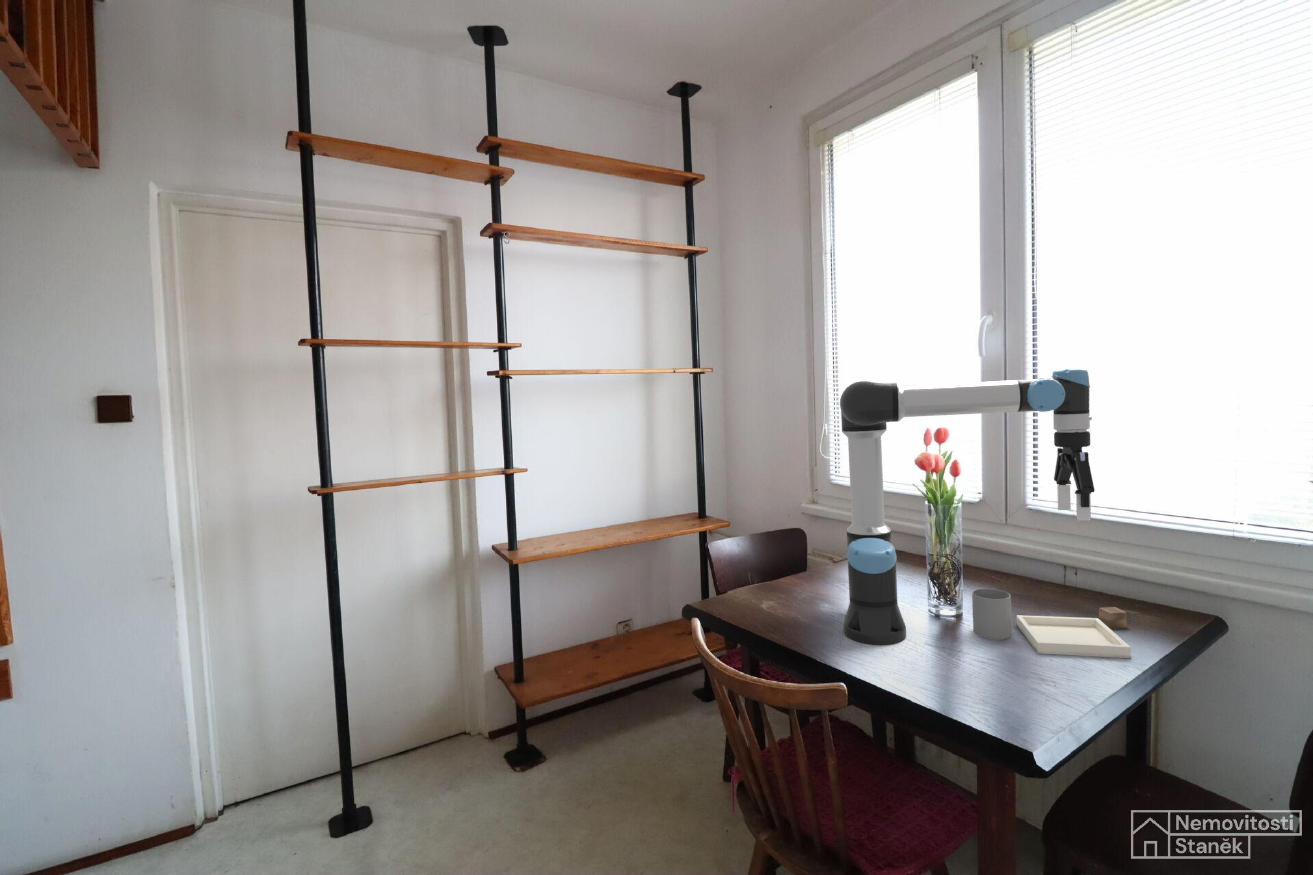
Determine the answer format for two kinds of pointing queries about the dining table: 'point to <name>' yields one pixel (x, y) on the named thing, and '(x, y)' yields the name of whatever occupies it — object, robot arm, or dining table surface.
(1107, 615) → the walnut block
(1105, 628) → the tray
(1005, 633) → the cup
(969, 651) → the dining table surface
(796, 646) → the dining table surface
